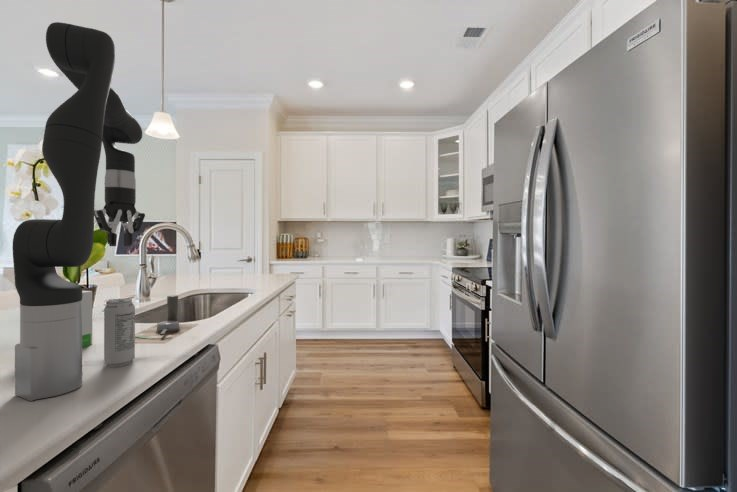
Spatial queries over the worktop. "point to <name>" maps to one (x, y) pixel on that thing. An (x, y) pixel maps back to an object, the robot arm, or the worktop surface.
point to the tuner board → (154, 336)
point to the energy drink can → (119, 332)
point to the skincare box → (86, 318)
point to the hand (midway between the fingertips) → (120, 245)
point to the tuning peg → (170, 316)
